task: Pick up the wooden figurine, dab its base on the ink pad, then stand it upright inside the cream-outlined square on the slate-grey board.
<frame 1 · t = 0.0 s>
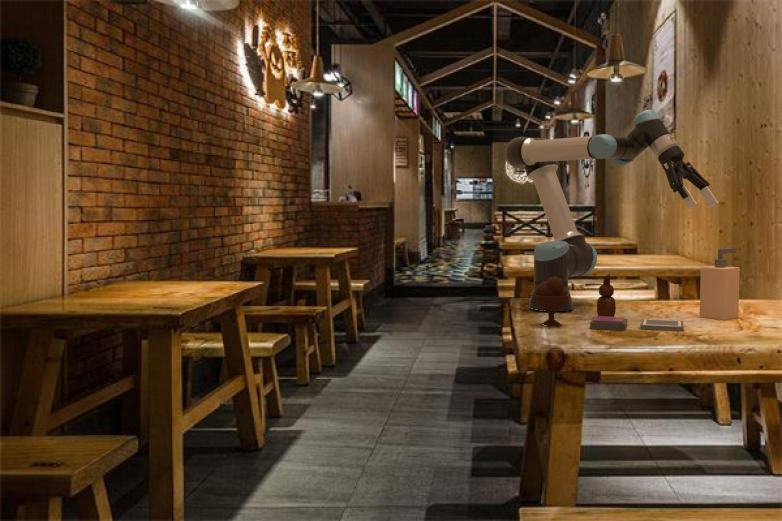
hand: (704, 206, 236), 36 cm above the table, tool tilted 35°, fingers open, 13 cm apart
wooden figurine: (605, 320, 244), on the table
soap dispenser: (722, 317, 247), on the table
ice cream bowl: (551, 325, 235), on the table
ink pad: (608, 327, 230), on the table
marked board: (662, 326, 229), on the table
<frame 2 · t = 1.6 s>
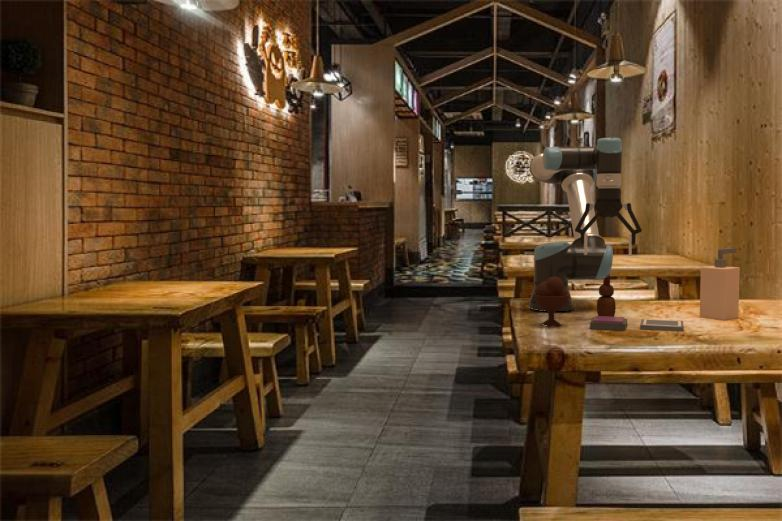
hand: (607, 255, 242), 21 cm above the table, tool pointing down, fingers open, 13 cm apart
nothing on the table moved.
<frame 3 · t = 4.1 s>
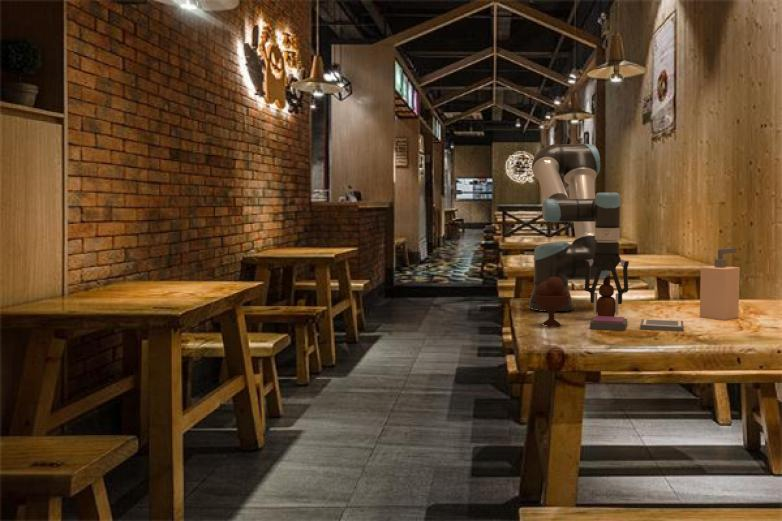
hand: (606, 313, 244), 2 cm above the table, tool pointing down, fingers closed on wooden figurine, 6 cm apart
wooden figurine: (605, 320, 244), on the table, touching gripper
everything else where it was.
when the fingers open (5 cm above the table, at t = 14.8 s): wooden figurine drops 2 cm, resting on marked board.
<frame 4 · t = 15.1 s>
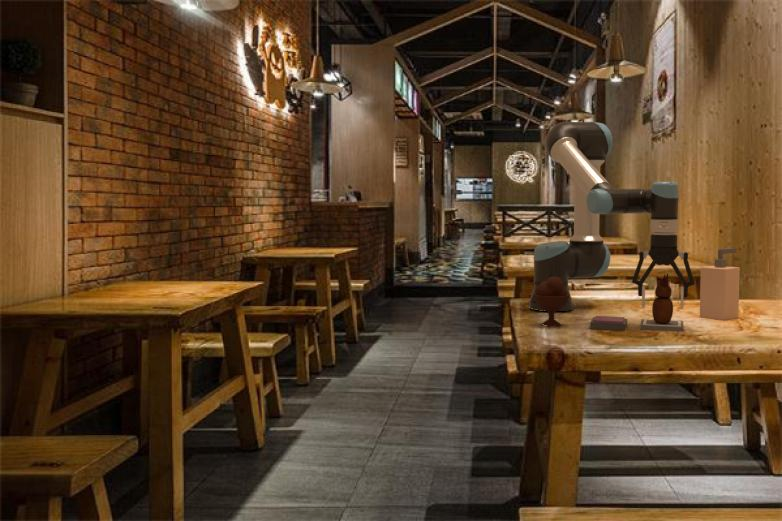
hand: (662, 307, 229), 6 cm above the table, tool pointing down, fingers open, 10 cm apart
wooden figurine: (661, 323, 229), point 1 cm above the table, touching marked board
everything else where it was.
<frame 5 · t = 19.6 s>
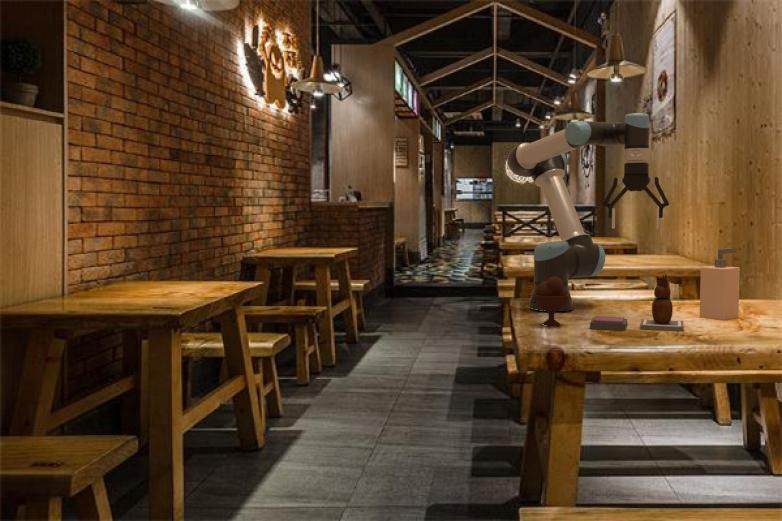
hand: (635, 228, 247), 29 cm above the table, tool pointing down, fingers open, 13 cm apart
nothing on the table moved.
at the end: wooden figurine 0.1 cm off-centre on the marked board, point 1.0 cm above the marked board's base; wooden figurine tilted 0°; the gripper is holding nothing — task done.
